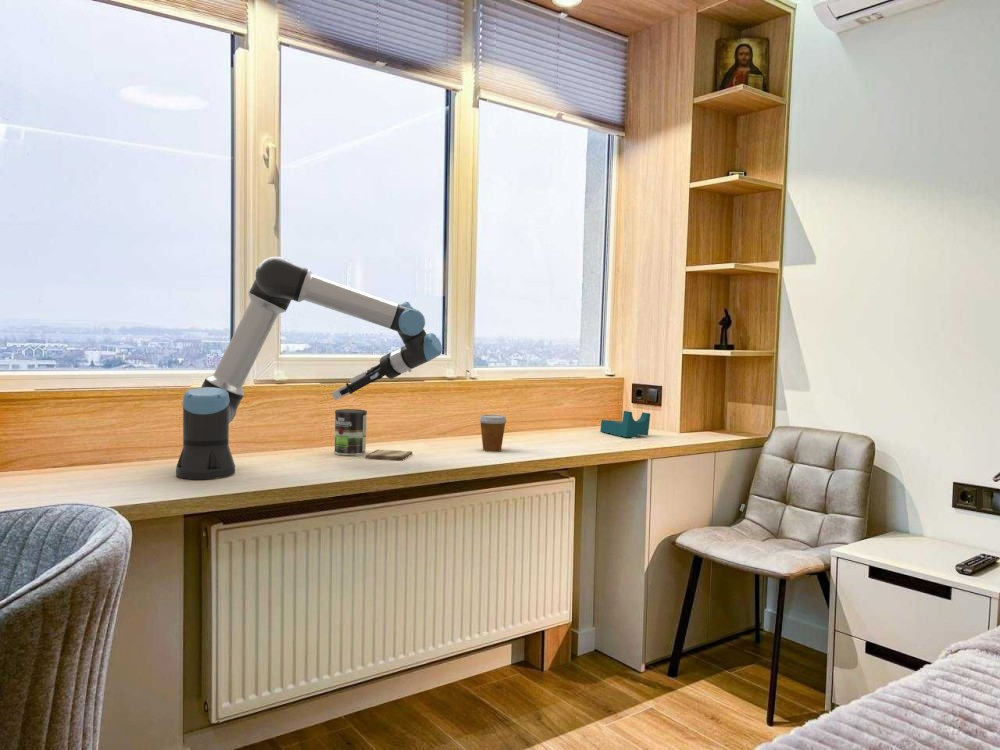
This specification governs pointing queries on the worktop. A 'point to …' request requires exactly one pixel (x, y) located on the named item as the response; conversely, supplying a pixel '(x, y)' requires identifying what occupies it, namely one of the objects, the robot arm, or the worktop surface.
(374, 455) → the trivet
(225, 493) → the worktop surface
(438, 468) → the worktop surface
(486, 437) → the disposable coffee cup
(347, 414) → the coffee can
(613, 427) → the teal l-shaped bracket
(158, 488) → the worktop surface
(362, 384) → the robot arm
